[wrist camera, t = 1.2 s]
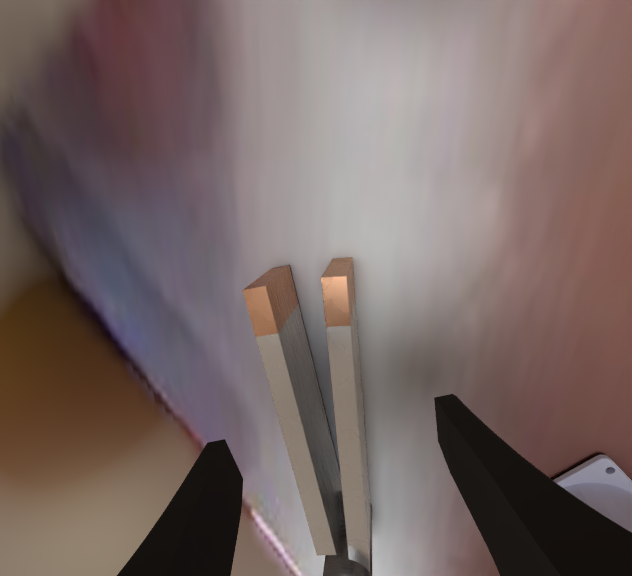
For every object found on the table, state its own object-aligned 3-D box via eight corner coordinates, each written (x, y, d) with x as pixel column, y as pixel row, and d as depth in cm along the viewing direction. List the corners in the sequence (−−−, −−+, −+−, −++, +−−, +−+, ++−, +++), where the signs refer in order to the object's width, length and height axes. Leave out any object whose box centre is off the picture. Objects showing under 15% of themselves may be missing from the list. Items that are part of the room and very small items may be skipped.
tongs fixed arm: (373, 524, 26) (373, 613, 21) (334, 521, 27) (324, 607, 21) (353, 257, 21) (347, 280, 15) (305, 260, 21) (282, 284, 16)
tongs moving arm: (343, 486, 25) (336, 554, 20) (327, 487, 25) (316, 555, 21) (289, 265, 21) (265, 285, 17) (271, 268, 22) (242, 290, 17)
